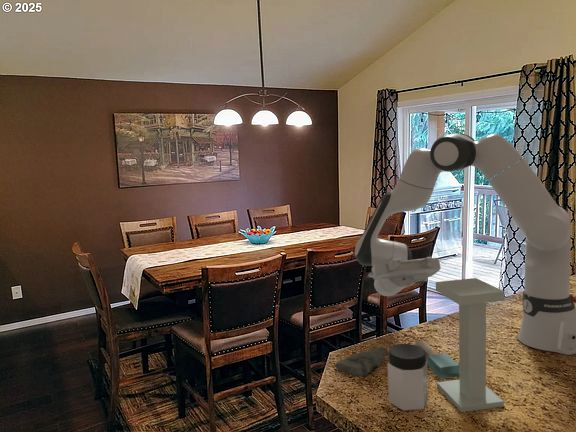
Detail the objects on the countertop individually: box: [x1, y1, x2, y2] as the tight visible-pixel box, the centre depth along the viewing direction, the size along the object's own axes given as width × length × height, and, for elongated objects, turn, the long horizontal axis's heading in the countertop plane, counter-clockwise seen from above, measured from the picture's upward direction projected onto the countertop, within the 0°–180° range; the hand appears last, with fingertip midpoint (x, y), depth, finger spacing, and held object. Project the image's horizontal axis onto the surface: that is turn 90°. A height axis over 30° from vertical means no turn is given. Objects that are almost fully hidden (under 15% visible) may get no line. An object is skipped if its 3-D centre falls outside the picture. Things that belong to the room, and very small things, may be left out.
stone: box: [334, 346, 388, 377], centre depth 122 cm, size 17×3×10 cm
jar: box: [387, 343, 429, 411], centre depth 102 cm, size 9×8×12 cm
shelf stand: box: [435, 277, 506, 413], centre depth 101 cm, size 10×11×26 cm
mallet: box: [414, 340, 459, 380], centre depth 120 cm, size 5×18×3 cm, turn 8°
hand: (414, 260), depth 128 cm, fingers open, 8 cm apart
